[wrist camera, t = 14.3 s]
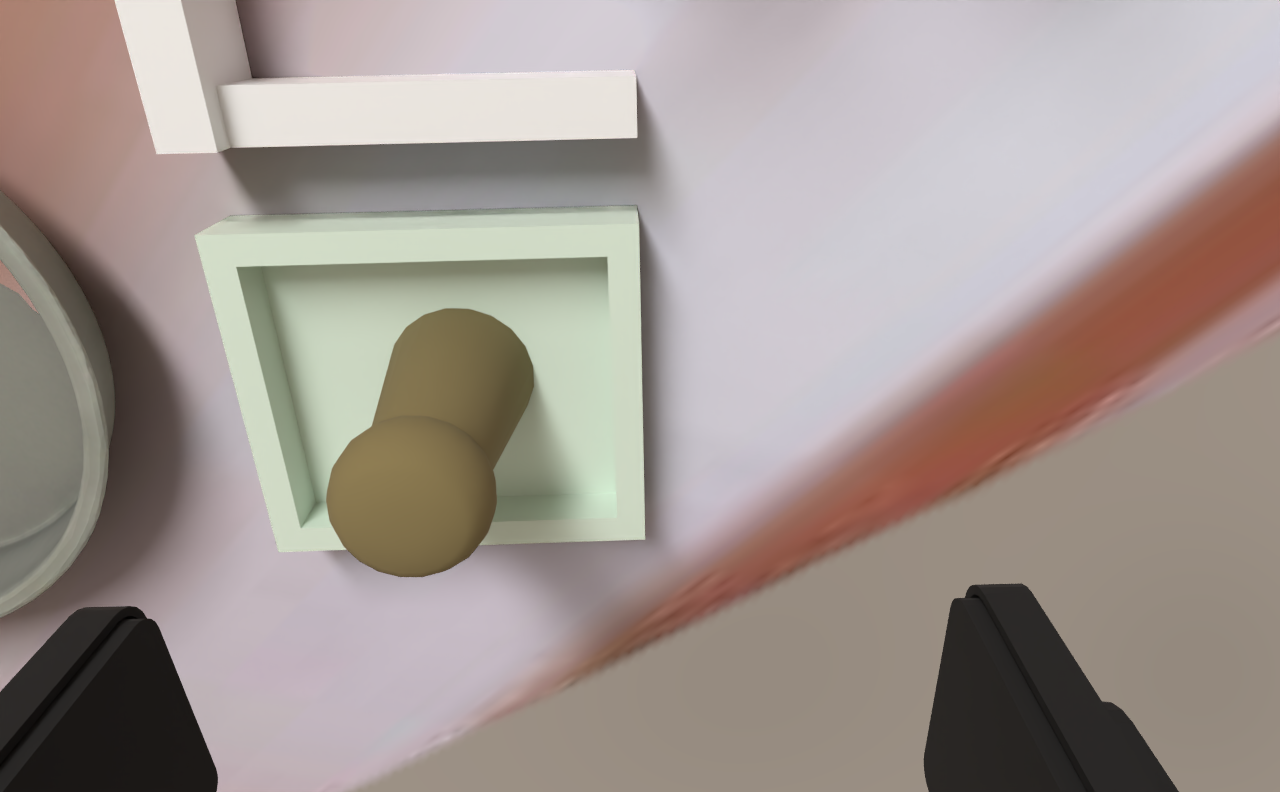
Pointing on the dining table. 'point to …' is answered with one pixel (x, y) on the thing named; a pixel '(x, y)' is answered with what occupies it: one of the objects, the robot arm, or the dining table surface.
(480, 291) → the tray
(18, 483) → the cake pan
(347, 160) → the dining table surface
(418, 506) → the cork
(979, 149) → the dining table surface
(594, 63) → the dining table surface
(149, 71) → the dock
